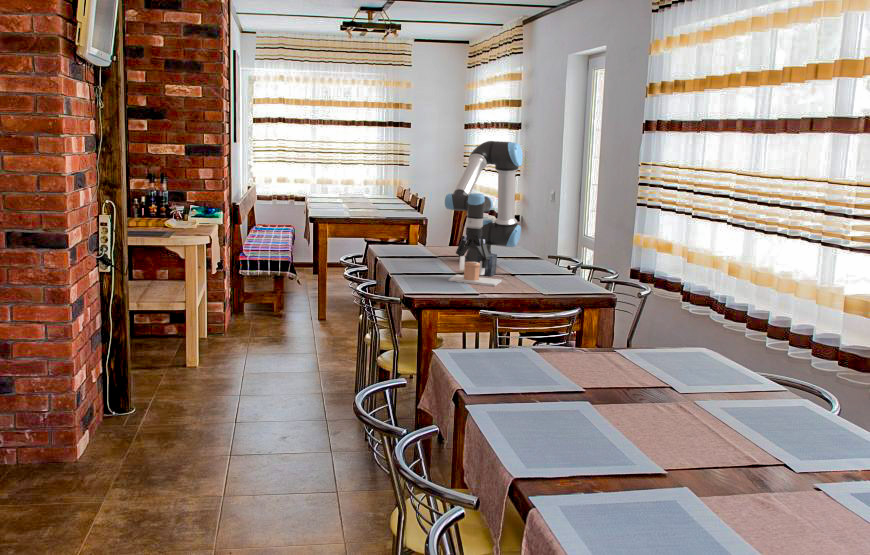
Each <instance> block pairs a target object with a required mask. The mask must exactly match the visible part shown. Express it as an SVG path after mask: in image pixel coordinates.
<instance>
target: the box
mask: <svg viewBox="0 0 870 555" xmlns="http://www.w3.org/2000/svg"><path fill="white" fill-rule="evenodd" d="M489 257H490V260H488V261H486V268H485V275H484V276H486V277H495V276H496V273H497V262H498V260H497V258H498V254H497V253H492V252H491V253H489ZM480 261H481V258H480V256H479V254H478V263H480ZM479 271H480V270H479Z"/></svg>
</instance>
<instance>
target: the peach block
mask: <svg viewBox="0 0 870 555" xmlns="http://www.w3.org/2000/svg"><path fill="white" fill-rule="evenodd" d="M479 270H480V263H478V262H465V264H464V270H463V271H464V272H463V275H464V279H467V280H479V277H480V275H479Z"/></svg>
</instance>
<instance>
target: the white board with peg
mask: <svg viewBox="0 0 870 555" xmlns="http://www.w3.org/2000/svg"><path fill="white" fill-rule="evenodd" d="M452 281H457V282H456V283H461V282H464V283H463V284H471V285H479V286H488V287H496V286H498V285H499V284H501V283H502V282H503V281H502V279H499V278H489V277H482V276H479V280H467V279H464V274H462V275H461V274H455V275H453V276H452V277H450V278H448V282H452Z"/></svg>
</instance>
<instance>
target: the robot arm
mask: <svg viewBox="0 0 870 555" xmlns="http://www.w3.org/2000/svg"><path fill="white" fill-rule="evenodd" d="M523 157H524V156H523V149H522V147H521V145H520V144H519V142H518V143H517V142H512V141H494V140H487V141H484V142H483V143H481V144H480V143H479V145H477V147H476V148H474V149H473V150H472V152H471V153H470V154H469V157H468V160H467V161H468V163H467V165H466V167H465V169H464V171H463V173H462V175H461V178H460V179H459V182H458V184H457V185H456V187H455V190H454V192H453V193H447V194H446V195H445V198H444V206H445V208H446V209H447V210H451V211H452V210H453V211H462V212H467V213H466V228H465V235H462V236H461V238H460V239H461V240H460V242H459V244H458V246H457V249H456V251H455V254H456V255H457V256H458V264H459V265H458V271H464V268H465V266H464V265H465V262H478V254H479V256H480V258H481V261H480V271H479V276H485V268H486V261H488V260H490V257H489V253H492V251H491V250H492V248H491V246H496V247H497V246H498V247H506V248H515V247H516V246H517V245H518V244H519V241H520V238H521V234H522V233H521V232H522V226H521V225H519V224H518V220H517V219H516V218H515V209H516V208H515V206H516V205H515V204H516V202H515V201H516V199H515V198H516V172H517V171H518V170H519V167H522V165H523V160H524V158H523ZM487 165H492V166H493V165H494V166H495V167H494V168H495V171H496V172H497V176H498V177H497V179H498V180H497V218H496V219H495V220H494V221H493V219H490V218H487V219H484V213H488V212H490V211H491V210H492V209H493V206H494V203H493V199H492V198H491V197H489V196H485V194H483V193H480V192H479V193H476V192H475V193H473V190H474V187H475V185H476V183H477V181H478V178H479V176H480V175H481V173H482V172H483V171H482V170H484V169H485V168H486V167H487Z"/></svg>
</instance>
